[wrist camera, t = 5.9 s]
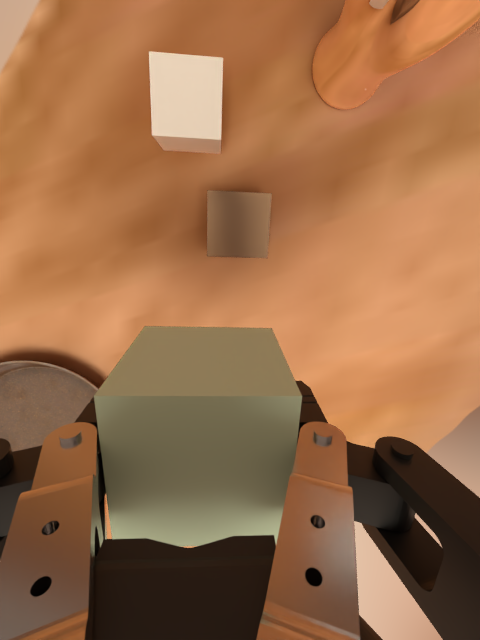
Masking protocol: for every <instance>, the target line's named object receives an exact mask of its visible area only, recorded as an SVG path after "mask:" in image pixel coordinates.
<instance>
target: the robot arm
mask: <svg viewBox="0 0 480 640" xmlns="http://www.w3.org/2000/svg"><path fill="white" fill-rule="evenodd" d="M296 384H297V386H298V388H299V390H300V393H301V395H302V402H301V411H300V420H299V429H298V438H297V447H296V454H295V459H294V465H293V470H292V471H291V473H290V477H289V482H288V488H287V493H286V498H285V503H284V508H283V513H282V518H281V523H280V529H279V534H278V539H277V544H275V538H274V535H253V536H232V537H228V538H225V539H221V540H218V541H214V542H211V543H207V544H204V545H201V546H197V547H194V548H184V547H180V546H176V545H172V544H168V543H164V542H160V541H156V540H152V539H148V538H136V539H107V525H106V498H105V494H106V487H105V479H104V472H103V464H102V456H101V448H100V440H99V433H98V425H97V417H96V409H95V402H94V396H93V398H92V399H91V400H90V403H88V404H87V406H86V407H85V408H84V410H83V411H82V413H81V414H80V415H79V417H78V418H77V419H76V421H75V422H74V423H71V424H67V425H64V426H62V427H59V428H57V429H56V430H54V431H52V432H51V433H50V434H49V435H48V436H47V437H46V438H45V440H44V442H43V445H41V446H37V447H32V448H28V449H23V450H18V451H13V452H12V449H11V445H10V442H9V441H8V440H6V439H3V438H0V640H382V639H381V637H380V636H379V635H378V634H377V633H376V632H375V631H374V630H373V629H372V628H371V627H370V626H369V625H368V624H367V623H366V622H365V621H364V619H363V618H362V617H361V616H360V615H359V606H358V587H357V569H356V568H357V567H356V547H355V529H354V521H357V522H360V523H362V525H363V527H364V528H365V530H366V532H367V533H368V534H369V536H370V537H371V538H372V540H373V541H374V543H375V544H376V545H377V547H378V548H379V550H380V551H381V553H382V554H383V555H384V557H385V558H386V560H387V561H388V563H389V564H390V565H391V567H392V568H393V570H394V571H395V572H396V574H397V575H398V577H399V578H400V579H401V581H402V582H403V584H404V585H405V587H406V588H407V589H408V591H409V592H410V594H411V595H412V596H413V598H414V599H415V601H416V602H417V603H418V605H419V606H420V608H421V609H422V610H423V612H424V613H425V615H426V616H427V618H428V619H429V620H430V622H431V623H432V625H433V626H434V627H435V629H436V630H437V632H438V633H439V634H440V636H441V637H442V639H443V640H480V498H479V497H478V496H477V495H475V494H474V493H473V492H472V491H470V489H468V488H467V487H466V486H465V485H463V484H462V483H461V482H460V481H459V480H458V479H456V478H455V477H454V476H453V475H452V474H450V473H449V472H448V471H447V470H446V469H444V468H443V467H442V466H441V465H440V464H438V463H437V462H436V461H435V460H434V459H432V458H431V457H430V456H429V455H428V454H427V453H425V452H424V451H423V450H422V449H421V448H419V447H418V446H416V445H415V444H413V443H411V442H409V441H407V440H405V439H402V438H398V437H382V438H380V439H378V440H377V442H376V444H375V449H374V448H370V447H365V446H361V445H356V444H353V443H350V442H347V441H346V437H345V435H344V434H343V432H342V431H341V430H340V429H338V428H337V427H335V426H333V425H331V424H328V422H327V420H326V418H325V416H324V414H323V412H322V411H321V409H320V407H319V405H318V403H317V401H316V399H315V397H314V395H313V393H312V391H311V389H310V387H308V386H307V385H306V384H304V383H303V382H302V381H296ZM95 394H96V393H95ZM415 513H417V515H419V517H420V518H421V519H422V520H423V521H424V522H425V523H426V524H427V525H428V526H429V528H430V529H431V530H432V531H433V532H434V533H435V534H436V536H437V537H438V539H439V541H440V543H441V545H442V547H441V546H440V545H439V544H438V543H437V542H436V541H435V540H434V539H433V537H432V536H431V535H430V534H429V533H428V532H427V531H426V530H425V529H424V528H423V526H422V525H421V524H420V523H419V522H418V521H417V520H416V519H415ZM442 548H443V549H442Z"/></svg>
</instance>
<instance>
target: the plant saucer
mask: <svg viewBox="0 0 480 640" xmlns="http://www.w3.org/2000/svg"><path fill="white" fill-rule="evenodd" d="M98 389H99V388H98V387H97V386H95V385H94V384H93V383H92V382H90V381H89V380H87V379H86V378H84V377H83V376H81V375H79V374H78V373H75V372H73V371H71V370H69V369H66V368H64V367H61V366H57V365H54V364H50V363H44V362H38V361H8V362H2V363H0V438H3V439H6V440H8V441H9V442H10V445H11V449H12V452H13V451H18V450H23V449H28V448H32V447H37V446H41V445H43V442H44V440H45V438H46V437H47V436H48V435H49V434H50V433H51V432H52V431H54V430H56V429H57V428H59V427H62V426H64V425H67V424H71V423H74V422H75V421H76V419H77V418H78V417H79V415H80V414H81V413H82V411H83V410H84V408H85V407H86V406H87V404H88V403H90V400H91V399H92V398H93V396H94V395H95V393H96V392H97V391H98Z"/></svg>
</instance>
